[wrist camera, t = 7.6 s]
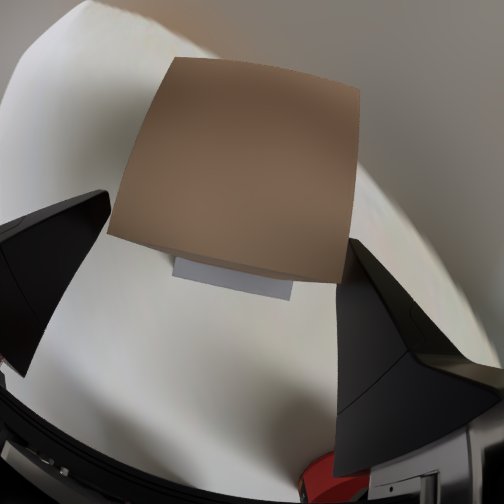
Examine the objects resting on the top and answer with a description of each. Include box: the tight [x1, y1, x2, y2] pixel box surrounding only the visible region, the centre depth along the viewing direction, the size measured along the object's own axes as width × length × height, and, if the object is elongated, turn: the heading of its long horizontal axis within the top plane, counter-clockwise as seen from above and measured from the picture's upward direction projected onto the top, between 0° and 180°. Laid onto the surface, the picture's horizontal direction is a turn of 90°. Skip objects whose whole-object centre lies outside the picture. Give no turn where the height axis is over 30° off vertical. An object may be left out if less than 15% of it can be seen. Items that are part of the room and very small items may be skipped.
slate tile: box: [172, 256, 293, 301], centre depth 19 cm, size 8×8×2 cm
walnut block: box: [107, 57, 360, 284], centre depth 12 cm, size 6×6×12 cm
